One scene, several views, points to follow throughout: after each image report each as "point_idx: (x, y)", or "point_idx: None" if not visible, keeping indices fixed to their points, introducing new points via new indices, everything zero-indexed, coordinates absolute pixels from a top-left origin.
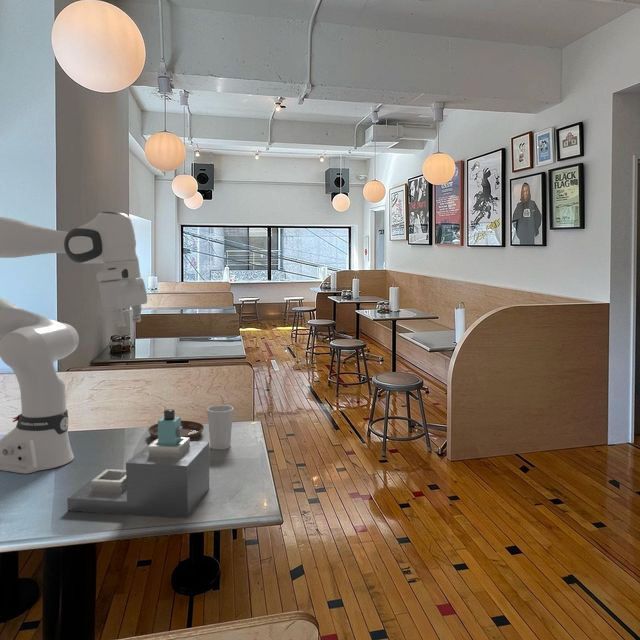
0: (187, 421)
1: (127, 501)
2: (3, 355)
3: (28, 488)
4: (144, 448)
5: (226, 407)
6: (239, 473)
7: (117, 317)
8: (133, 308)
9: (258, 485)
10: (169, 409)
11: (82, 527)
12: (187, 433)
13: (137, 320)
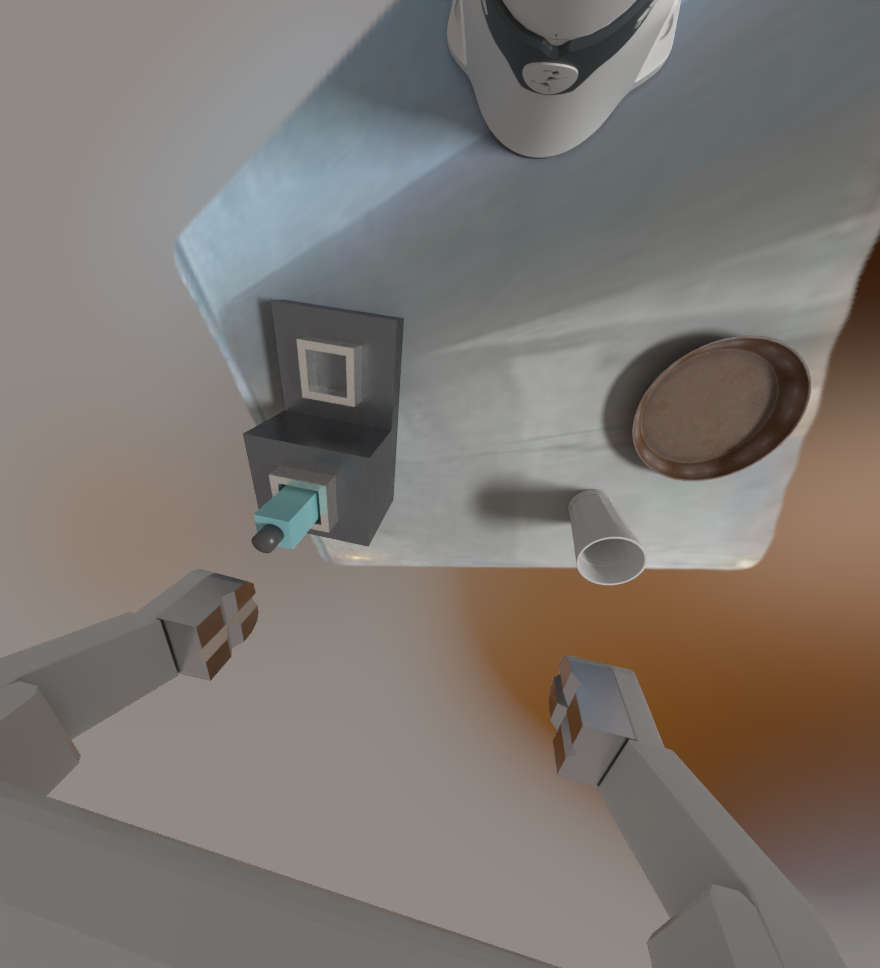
0: (785, 434)
1: (284, 411)
2: None
3: (360, 131)
4: (317, 449)
5: (635, 570)
6: (449, 534)
7: (88, 653)
8: (706, 924)
9: (407, 554)
10: (269, 544)
11: (247, 350)
12: (708, 435)
13: (554, 701)
